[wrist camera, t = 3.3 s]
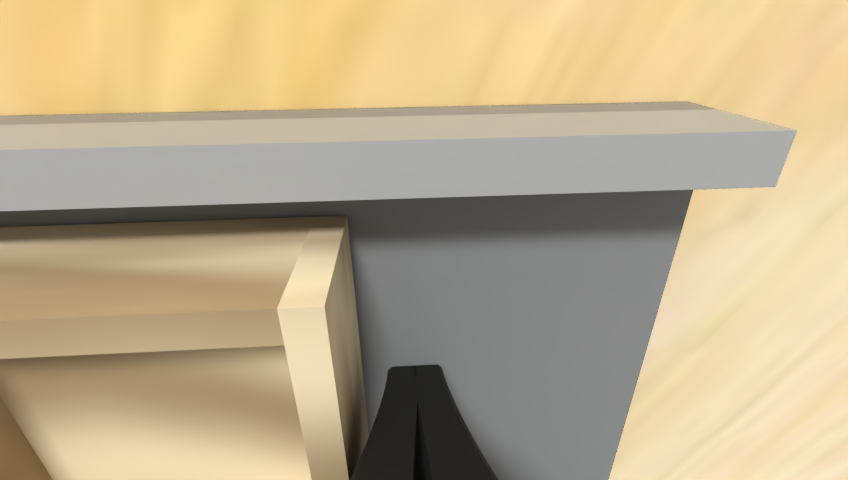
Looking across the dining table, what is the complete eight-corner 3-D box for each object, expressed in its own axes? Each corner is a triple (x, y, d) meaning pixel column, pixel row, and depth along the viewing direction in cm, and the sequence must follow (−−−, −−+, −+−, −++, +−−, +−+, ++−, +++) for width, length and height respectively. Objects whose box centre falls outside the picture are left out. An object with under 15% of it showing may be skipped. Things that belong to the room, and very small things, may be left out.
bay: (589, 477, 16) (645, 608, 12) (-27, 518, 15) (-159, 673, 11) (687, 101, 10) (853, 145, 6) (-352, 123, 9) (-868, 192, 5)
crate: (373, 484, 14) (367, 615, 11) (69, 504, 13) (-28, 647, 10) (347, 215, 9) (324, 306, 6) (-105, 230, 9) (-361, 336, 6)
